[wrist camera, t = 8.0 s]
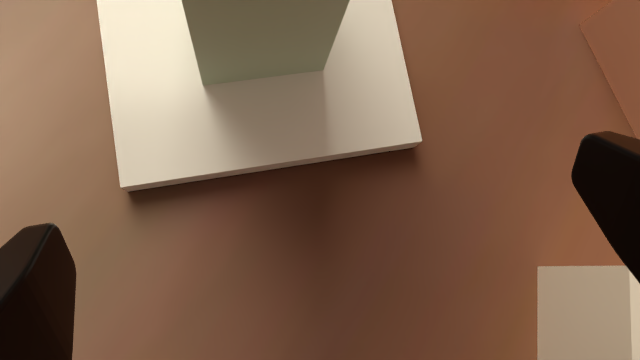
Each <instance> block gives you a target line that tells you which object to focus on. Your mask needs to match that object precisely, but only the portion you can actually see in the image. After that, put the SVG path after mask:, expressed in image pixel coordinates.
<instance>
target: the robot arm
mask: <svg viewBox="0 0 640 360" xmlns="http://www.w3.org/2000/svg"><path fill="white" fill-rule="evenodd" d="M571 177H572V182H573V185H574V187H575V188H576V190H577V192H578V193H579V195H580V196H581V198H582V200H583V201H584V203H585V204H586V206H587V208H588V209H589V211H590V212H591V214H592V216H593V217H594V219H595V220H596V222H597V224H598V225H599V227H600V229H601V230H602V232H603V233H604V235H605V237H606V238H607V240H608V241H609V243H610V244H611V246H612V247H613V249H614V250H615V252H616V253H617V255H618V256H619V257H620V259H621V260H622V261H623V263H624V264H625V265H626V267H627V268H628V269H629V271H630V272H631V273H632V274H633V276H634V277H635V278H636V280H637V281H638V282H639V284H640V139H636V138H632V137H629V136H625V135H622V134H618V133H614V132H610V131H604V132H598V133H592V134H588V135H586V136H585V137H584V138H583V139H582V141H581V143H580V146H579V149H578V153H577V156H576V159H575V162H574V166H573V169H572V174H571ZM75 291H76V268H75V264H74V261H73V258H72V256H71V254H70V251H69V249H68V247H67V245H66V243H65V240H64V238H63V236H62V234H61V231H60V230H59V228H58V227H57V226H56V225H55V224H53V223H46V224H39V225H33V226H28V227H25V228H23V229H22V230H21V231H19V232H18V233H17V234H16V235H15V236H14V237H12V238H11V239H10V240H9V241H8V242H7V243H6V244H4V245H3V246H2V247H1V248H0V360H72V351H73V331H74V311H75Z"/></svg>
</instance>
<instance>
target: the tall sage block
mask: <svg viewBox="0 0 640 360" xmlns="http://www.w3.org/2000/svg"><path fill="white" fill-rule="evenodd" d="M349 1H350V0H182V4H183V8H184V12H185V16H186V20H187V24H188V28H189V32H190V36H191V40H192V44H193V48H194V52H195V56H196V60H197V64H198V68H199V72H200V76H201V80H202V84H203V86H204V85H212V84H219V83H227V82H235V81H243V80H251V79H258V78H266V77H274V76H282V75H290V74H297V73H305V72H313V71H321V70H324V67H325V65H326V62H327V59H328V57H329V54H330V51H331V49H332V46H333V43H334V41H335V38H336V35H337V33H338V30H339V28H340V25H341V22H342V20H343V17H344V14H345V12H346V9H347V6H348V4H349Z"/></svg>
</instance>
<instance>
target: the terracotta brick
mask: <svg viewBox="0 0 640 360" xmlns="http://www.w3.org/2000/svg"><path fill="white" fill-rule="evenodd" d="M579 26H580V28H581V30H582V32H583V34H584V36H585V38H586V40H587V42H588V44H589V46H590V48H591V50H592V52H593V54H594V56H595V58H596V60H597V62H598V64H599V66H600V68H601V69H602V71H603V73H604V75H605V77H606V79H607V81H608V83H609V85H610V87H611V89H612V91H613V93H614V95H615V97H616V99H617V101H618V103H619V105H620V107H621V109H622V111H623V113H624V115H625V117H626V119H627V121H628V122H629V124H630V126H631V128H632V130H633V132H634V134H635V136H636V138H637V139H640V0H613V1H611V2H610V3H608V4H607V5H606V6H604V7H603V8H602V9H600V10H599V11H598V12H596V13H595V14H593V15H592V16H591V17H589V18H588V19H587V20H585V21H584V22H583V23H581V24H580V25H579Z"/></svg>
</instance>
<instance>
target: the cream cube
mask: <svg viewBox="0 0 640 360" xmlns="http://www.w3.org/2000/svg"><path fill="white" fill-rule="evenodd" d="M538 360H640V284H639V282H638V281H637V280H636V278H635V277H634V276H633V274H632V273H631V272H630V271H629V269H628V268H627V267H626V266H538Z"/></svg>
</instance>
